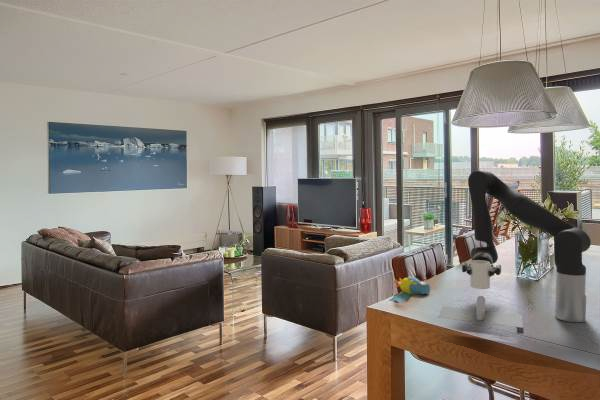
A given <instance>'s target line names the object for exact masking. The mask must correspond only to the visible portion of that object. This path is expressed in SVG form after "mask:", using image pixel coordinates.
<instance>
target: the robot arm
mask: <svg viewBox="0 0 600 400" xmlns="http://www.w3.org/2000/svg"><path fill="white" fill-rule="evenodd" d="M467 185H468V189H469V190H468V191H469V194H470V195H469V196H470V200H471V206H472V213H473V223H474V224H473V229H474V239H475V241H477V242H482V243H485V244H486V245H487V246H474V247H472V248H471V250H470V259H471V261H473V260H484V261H488V262H490V278H491V277H493V276H495V275H497V276H500V275H501V273H502V265H501V264H496V266H494V264H495V263H497V261H498V258H499V255H498V254H499V253H498V251H497V249H496V246H495V245H496V244H495V242H494V237H493V222H492V221H493V220H492V217H491V214H490V211H489V208H488V205H487V198H486V197H487V195H489V196H490V197H493V198H494V199H496V200H497V201H498V202H500V203H501V205H502V206H503V208H504V209H506V211H507V212H508V213H509V214H510V215H512V217H514V218H516V219H517V220H518V221H520V222H522V223H523V224H525V225H528V226H530V227H532V228H535V229H537V230H540V231H543V232H544V233H547V234H549V235H550V236H552V237H553V238H554V242H553V253H554V254H553V257H554V258H553V259H554V261H553V262H554V264H555V268H556V269H555V270H556V272H555V277H556V278H555V304H554V305H555V307H554V312H555V313H554V317H555V318H556V319H558V320H561V321H565V322H569V323H586V321H587V320H586V317H587V316H586V314H587V296H586V282H587V281H586V280H587V279H586V277H587V276H586V274H587V266H586V265H584V264H583V253H584V252H586V251H587V250H589V249H590V247H591V244H592V242H591V238H590V235H588V233H587V232H586V231H585V230H583V229H581V228H579V227H578V226H575V225H573V224H572V223H569V222H567V221H565V220H563V219H561V218H560V217H559V216H557V215H556V214H554V213H553V212H551V211H550V210H548V209H547V208H545V206H542V205H541V204H539V203H538V202H536V201H535V200H533V199H532V198H531V197H529V196H527V195H525V194H523V193H522V192H521V191H518V190H516V189H514V188H512V187H510V185H507V183H505V182H504V181H503V180H501V179H500V178H499V177H497V176H496V175H495V174H494V173H492V172H491V171H487V170H481V169H479V170H478V169H477V170H473V171H472V172H471V173H470V174H469V176H468V178H467ZM461 272H462V273H466V274H468V275H469V276H471V262H470V263H469V264H468V263H467V262H465V261H463V262H461Z"/></svg>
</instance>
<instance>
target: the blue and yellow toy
mask: <svg viewBox="0 0 600 400" xmlns="http://www.w3.org/2000/svg"><path fill="white" fill-rule="evenodd" d="M393 281H394V283H395V285H396V287H395V288H399V287H400V290H401V292H400V293H398V294H396V295H394V296H393V297H391V298H390V299H388V301H389V302H394V303H395V302H396V303H398V304H402V303H403V302H405V301H408V300H410V299H411V298H412V297H413V295H414V294H415V295H429V294H430V292H431V285H430V284H429V283H427V282H425V281H423V280H420V279H419V278H417V277H413V276H410V275H409V276H407V277H404V278H403V279H402V278H400V277H399V278H398V280H397V279H394V280H393Z"/></svg>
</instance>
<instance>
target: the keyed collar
mask: <svg viewBox="0 0 600 400" xmlns="http://www.w3.org/2000/svg"><path fill="white" fill-rule="evenodd" d="M470 263H471V275H470V277H469V278H470V280H469V281H470V283H469V284H470V287H471V288H473V289H477V290H488V289H490V288H491V287H490V286H491V277H490V262H488V261H484V260H473V261H472V260H470Z"/></svg>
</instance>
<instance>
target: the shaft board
mask: <svg viewBox="0 0 600 400" xmlns="http://www.w3.org/2000/svg"><path fill="white" fill-rule="evenodd" d="M438 318H443V319H450V320H459V321H465V322H466V321H467V322H475V323H483V324H491V325H498V326H506V327H514V328H516V332H521V333H524V324H523V323H524V322H523V315H522V314H517V313H509V312H501V311H500V312H499V311H491V310H486V297H484V296H483V295H478V296H477V298H476V309H474V308H464V307H457V306H456V307H455V306H445V305H442V307H441V310H440V312H439V314H438Z"/></svg>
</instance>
